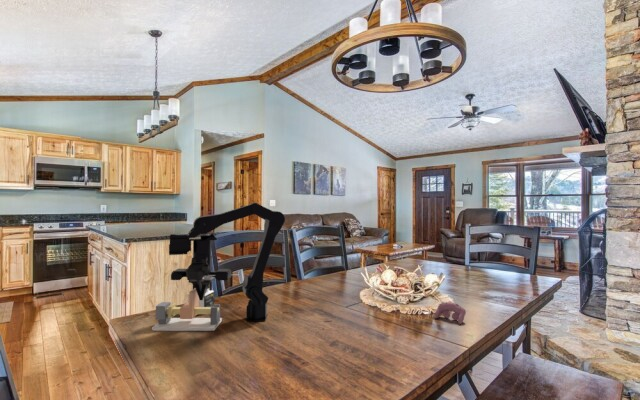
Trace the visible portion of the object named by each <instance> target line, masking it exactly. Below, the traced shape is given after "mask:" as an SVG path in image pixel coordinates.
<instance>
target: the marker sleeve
mask: <svg viewBox="0 0 640 400" xmlns="http://www.w3.org/2000/svg"><path fill="white" fill-rule="evenodd" d="M188 294H189V303H187V302H186V303H184V304H183V305H182V306H180V307H181V308H180V314H179V318H180V319H193V318H196V316H197V315H198V314H194V308H195V307H199V296H198V294H197V291H196V289H193V288H192V289H191V290H190V291H189V293H188Z"/></svg>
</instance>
